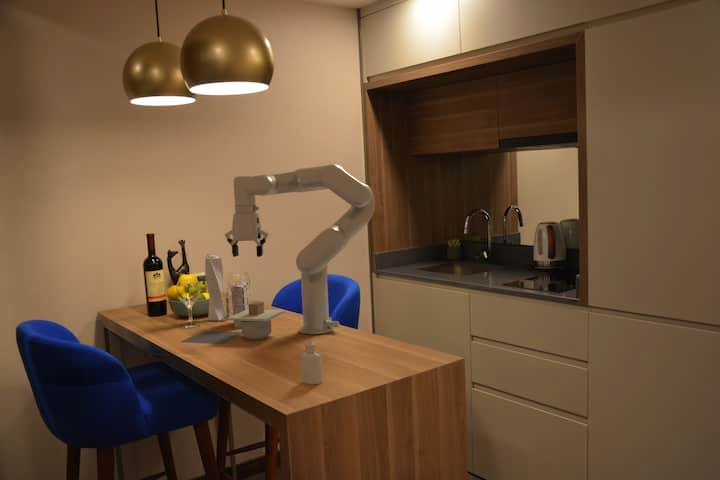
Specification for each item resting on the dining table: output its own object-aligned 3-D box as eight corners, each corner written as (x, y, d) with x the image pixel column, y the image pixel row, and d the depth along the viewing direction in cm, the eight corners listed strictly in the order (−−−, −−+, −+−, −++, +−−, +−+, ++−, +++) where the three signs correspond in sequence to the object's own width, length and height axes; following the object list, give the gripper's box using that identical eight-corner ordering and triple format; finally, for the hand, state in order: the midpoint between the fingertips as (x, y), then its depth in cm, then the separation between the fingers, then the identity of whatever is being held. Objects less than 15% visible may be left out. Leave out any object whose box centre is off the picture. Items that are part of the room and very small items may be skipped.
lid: (284, 312, 231) (284, 299, 230) (266, 321, 217) (265, 307, 216) (247, 311, 236) (247, 298, 235) (227, 320, 221) (226, 306, 221)
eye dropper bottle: (312, 378, 178) (310, 336, 177) (324, 382, 173) (322, 339, 172) (299, 382, 175) (297, 339, 174) (311, 386, 171) (309, 342, 170)
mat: (246, 333, 234) (246, 332, 234) (222, 345, 218) (222, 344, 218) (205, 332, 239) (205, 330, 239) (179, 343, 223) (179, 341, 223)
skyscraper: (221, 322, 255) (217, 253, 253) (204, 321, 258) (199, 253, 255) (231, 317, 263) (228, 250, 261) (214, 317, 266) (210, 250, 263)
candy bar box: (239, 323, 253) (237, 282, 251) (251, 322, 253) (249, 281, 251) (233, 329, 242) (230, 287, 240) (246, 329, 241) (243, 286, 240)
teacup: (262, 343, 219) (261, 320, 218) (235, 341, 223) (234, 319, 222) (281, 334, 232) (280, 312, 231) (255, 332, 236) (253, 311, 235)
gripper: (271, 209, 234) (273, 255, 235) (229, 209, 239) (231, 255, 240) (262, 210, 226) (264, 257, 228) (219, 210, 231) (221, 257, 233)
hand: (247, 256), depth 234 cm, fingers open, 9 cm apart
